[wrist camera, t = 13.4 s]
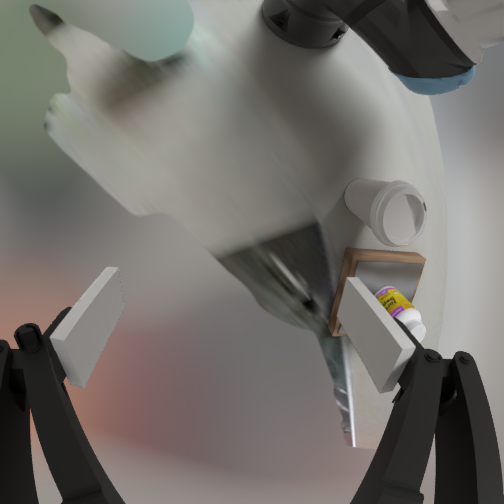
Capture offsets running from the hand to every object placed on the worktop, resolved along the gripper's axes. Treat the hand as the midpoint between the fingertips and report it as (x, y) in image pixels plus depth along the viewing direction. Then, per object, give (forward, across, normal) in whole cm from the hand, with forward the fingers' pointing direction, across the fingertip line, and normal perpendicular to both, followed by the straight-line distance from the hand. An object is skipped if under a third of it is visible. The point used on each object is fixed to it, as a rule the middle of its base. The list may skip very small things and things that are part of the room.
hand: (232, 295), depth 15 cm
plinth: (+32, +31, -17) cm, 47 cm away
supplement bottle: (+28, +31, -17) cm, 45 cm away
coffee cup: (+32, +23, +2) cm, 39 cm away
